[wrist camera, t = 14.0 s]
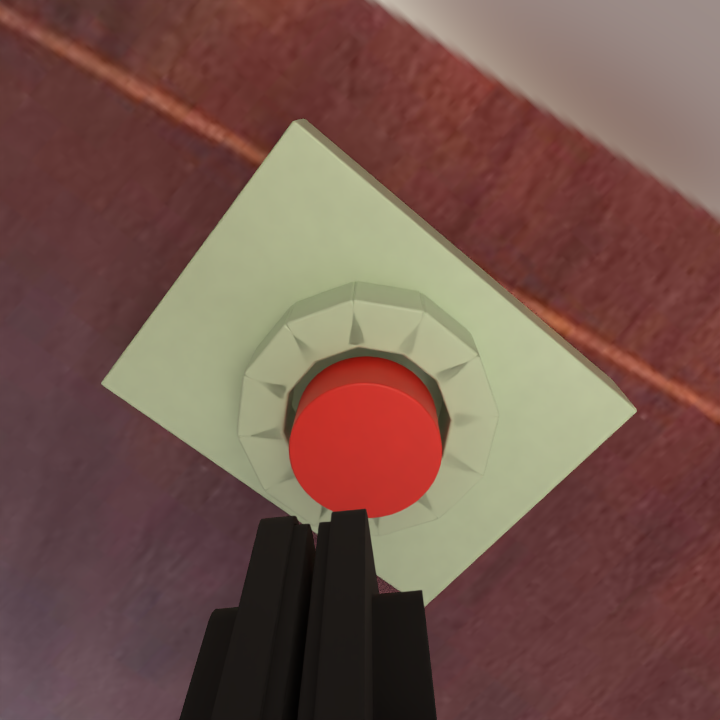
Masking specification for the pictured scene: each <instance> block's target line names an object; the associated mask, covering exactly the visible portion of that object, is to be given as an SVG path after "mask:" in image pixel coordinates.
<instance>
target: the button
mask: <svg viewBox="0 0 720 720" xmlns="http://www.w3.org/2000/svg"><path fill="white" fill-rule="evenodd" d="M289 459H290V463H291V467H292V470H293V473H294V475H295V477H296V479H297V481H298V482H299V484H300V485H301V487H302V488H303V489H304V491H305V492H306V493H307V494H308V495H309V496H310V497H311V498H312V499H314V500H315V501H316V502H317V503H319V504H320V505H322V506H323V507H325V508H327V509H329V510H331V511H333V512H336V511H346V510H356V509H366V510H367V515H368V518H377V517H383V516H388V515H392V514H394V513H397V512H400V511H402V510H404V509H406V508H408V507H409V506H411V505H412V504H414V503H415V502H416V501H418V500H419V499H420V498H421V497H422V496H423V495H424V494H425V493H426V492H427V491H428V489H429V488H430V487H431V485H432V484H433V482H434V480H435V478H436V476H437V474H438V472H439V468H440V465H441V460H442V442H441V435H440V430H439V424H438V418H437V413H436V408H435V404H434V401H433V398H432V396H431V394H430V392H429V390H428V389H427V387H426V386H425V384H424V383H423V382H422V381H421V379H420V378H419V377H418V376H416V375H415V374H414V373H413V372H412V371H410V370H409V369H407V368H406V367H404V366H402V365H400V364H398V363H396V362H394V361H391V360H388V359H384V358H379V357H371V356H362V357H353V358H348V359H345V360H341V361H339V362H336V363H334V364H332V365H330V366H328V367H327V368H325V369H323V370H322V371H321V372H320V373H318V374H317V375H316V376H315V377H314V378H313V379H312V380H311V381H310V383H309V384H308V385H307V387H306V388H305V390H304V392H303V394H302V396H301V399H300V402H299V405H298V408H297V412H296V416H295V419H294V423H293V427H292V430H291V435H290V439H289Z"/></svg>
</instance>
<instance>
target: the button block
mask: <svg viewBox="0 0 720 720" xmlns="http://www.w3.org/2000/svg"><path fill="white" fill-rule="evenodd" d="M362 356H371V357H379V358H384V359H388V360H391V361H394V362H396V363H398V364H400V365H402V366H404V367H406V368H407V369H409V370H410V371H412V372H413V373H414V374H415V375H416V376H418V377H419V378H420V379H421V381H422V382H423V383H424V384H425V386H426V387H427V389H428V390H429V392H430V394H431V396H432V398H433V401H434V404H435V408H436V413H437V418H438V424H439V430H440V435H441V442H442V460H441V465H440V468H439V472H438V474H437V476H436V478H435V480H434V482H433V484H432V485H431V487H430V488H429V489H428V491H427V492H426V493H425V494H424V495H423V496H422V497H421V498H420V499H419V500H418V501H416V502H415V503H414V504H412V505H411V506H409V507H408V508H406V509H404V510H402V511H400V512H397V513H394V514H392V515H388V516H383V517H377V518H368V521H369V528H370V535H371V542H372V549H373V556H374V563H375V570H376V575H377V576H379V577H380V578H382V579H383V580H385V581H386V582H387V583H389V584H390V585H392V586H393V587H395V588H396V589H398V590H399V591H400V592H405V591H416V590H422V592H423V600H424V607H425V606H426V605H427V604H428V603H429V602H430V601H432V600H433V599H434V598H435V597H436V596H437V595H438V594H439V593H440V592H441V591H442V590H444V589H445V588H446V587H447V586H448V585H449V584H450V583H451V582H452V581H453V580H454V579H455V578H457V577H458V576H459V575H460V574H461V573H462V572H463V571H464V570H465V569H466V568H467V567H468V566H470V565H471V564H472V563H473V562H474V561H475V560H476V559H477V558H478V557H479V556H480V555H482V554H483V553H484V552H485V551H486V550H487V549H488V548H489V547H490V546H491V545H492V544H493V543H495V542H496V541H497V540H498V539H499V538H500V537H501V536H502V535H503V534H504V533H505V532H507V531H508V530H509V529H510V528H511V527H512V526H513V525H514V524H515V523H516V522H517V521H518V520H520V519H521V518H522V517H523V516H524V515H525V514H526V513H527V512H528V511H529V510H530V509H531V508H533V507H534V506H535V505H536V504H537V503H538V502H539V501H540V500H541V499H542V498H543V497H545V496H546V495H547V494H548V493H549V492H550V491H551V490H552V489H553V488H554V487H555V486H556V485H558V484H559V483H560V482H561V481H562V480H563V479H564V478H565V477H566V476H567V475H568V474H570V473H571V472H572V471H573V470H574V469H575V468H576V467H577V466H578V465H579V464H580V463H581V462H583V461H584V460H585V459H586V458H587V457H588V456H589V455H590V454H591V453H592V452H593V451H594V450H596V449H597V448H598V447H599V446H600V445H601V444H602V443H603V442H604V441H605V440H606V439H608V438H609V437H610V436H611V435H612V434H613V433H614V432H615V431H616V430H617V429H618V428H619V427H621V426H622V425H623V424H624V423H625V422H626V421H627V420H628V419H629V418H630V417H631V416H633V415H634V414H635V413H636V411H637V409H636V408H635V407H634V405H633V404H632V403H631V402H630V401H629V399H628V398H627V397H626V396H625V395H624V393H623V392H622V391H621V390H620V389H619V387H618V386H617V385H616V384H615V383H614V381H613V380H612V379H611V378H609V377H608V376H607V375H606V374H605V373H604V372H602V371H601V370H600V369H599V368H598V367H597V366H595V365H594V364H593V363H592V362H591V361H589V360H588V359H587V358H586V357H585V356H584V355H582V354H581V353H580V352H579V351H578V350H577V349H575V348H574V347H573V346H572V345H571V344H569V343H568V342H567V341H566V340H565V339H564V338H562V337H561V336H560V335H559V334H558V333H557V332H555V331H554V330H553V329H552V328H551V327H549V326H548V325H547V324H546V323H545V322H544V321H542V320H541V319H540V318H539V317H538V316H537V315H535V314H534V313H533V312H532V311H531V310H529V309H528V308H527V307H526V306H525V305H524V304H522V303H521V302H520V301H519V300H518V299H516V298H515V297H514V296H513V295H512V294H511V293H509V292H508V291H507V290H506V289H505V288H504V287H502V286H501V285H500V284H499V283H498V282H496V281H495V280H494V279H493V278H492V277H491V276H489V275H488V274H487V273H486V272H485V271H484V270H482V269H481V268H480V267H479V266H478V265H476V264H475V263H474V262H473V261H472V260H471V259H469V258H468V257H467V256H466V255H465V254H464V253H462V252H461V251H460V250H459V249H458V248H456V247H455V246H454V245H453V244H452V243H451V242H449V241H448V240H447V239H446V238H445V237H443V236H442V235H441V234H440V233H439V232H438V231H436V230H435V229H434V228H433V227H432V226H431V225H429V224H428V223H427V222H426V221H425V220H423V219H422V218H421V217H420V216H419V215H418V214H416V213H415V212H414V211H413V210H412V209H411V208H409V207H408V206H407V205H406V204H405V203H403V202H402V201H401V200H400V199H399V198H398V197H396V196H395V195H394V194H393V193H392V192H391V191H389V190H388V189H387V188H386V187H385V186H383V185H382V184H381V183H380V182H379V181H378V180H376V179H375V178H374V177H373V176H372V175H371V174H369V173H368V172H367V171H366V170H365V169H363V168H362V167H361V166H360V165H359V164H358V163H356V162H355V161H354V160H353V159H352V158H350V157H349V156H348V155H347V154H346V153H345V152H343V151H342V150H341V149H340V148H339V147H338V146H336V145H335V144H334V143H333V142H332V141H330V140H329V139H328V138H327V137H326V136H325V135H323V134H322V133H321V132H320V131H319V130H318V129H316V128H315V127H314V126H313V125H312V124H310V123H309V122H308V121H307V120H306V119H300V120H295V121H293V122H292V123H291V124H290V126H289V127H288V128H287V130H286V131H285V133H284V134H283V135H282V137H281V138H280V139H279V141H278V142H277V143H276V145H275V146H274V148H273V149H272V150H271V152H270V153H269V154H268V156H267V157H266V158H265V160H264V161H263V163H262V164H261V165H260V167H259V168H258V169H257V171H256V172H255V173H254V175H253V176H252V178H251V179H250V180H249V182H248V183H247V184H246V186H245V187H244V188H243V190H242V191H241V193H240V194H239V195H238V197H237V198H236V199H235V201H234V202H233V203H232V205H231V206H230V208H229V209H228V210H227V212H226V213H225V214H224V216H223V217H222V218H221V220H220V221H219V223H218V224H217V225H216V227H215V228H214V229H213V231H212V232H211V233H210V235H209V236H208V238H207V239H206V240H205V242H204V243H203V244H202V246H201V247H200V248H199V250H198V251H197V253H196V254H195V255H194V257H193V258H192V259H191V261H190V262H189V263H188V265H187V266H186V268H185V269H184V270H183V272H182V273H181V274H180V276H179V277H178V278H177V280H176V281H175V283H174V284H173V285H172V287H171V288H170V289H169V291H168V292H167V293H166V295H165V296H164V298H163V299H162V300H161V302H160V303H159V304H158V306H157V307H156V308H155V310H154V311H153V313H152V314H151V315H150V317H149V318H148V319H147V321H146V322H145V323H144V325H143V326H142V328H141V329H140V330H139V332H138V333H137V334H136V336H135V337H134V338H133V340H132V341H131V343H130V344H129V345H128V347H127V348H126V349H125V351H124V352H123V353H122V355H121V356H120V358H119V359H118V360H117V362H116V363H115V364H114V366H113V367H112V368H111V370H110V371H109V373H108V374H107V375H106V377H105V378H104V379H103V381H102V385H103V386H104V387H106V388H107V389H109V390H110V391H112V392H113V393H115V394H116V395H117V396H119V397H120V398H122V399H123V400H125V401H126V402H128V403H129V404H130V405H132V406H133V407H135V408H136V409H138V410H139V411H141V412H142V413H143V414H145V415H146V416H148V417H149V418H151V419H152V420H154V421H155V422H156V423H158V424H159V425H161V426H162V427H164V428H165V429H167V430H168V431H169V432H171V433H172V434H174V435H175V436H177V437H178V438H180V439H181V440H182V441H184V442H185V443H187V444H188V445H190V446H191V447H193V448H194V449H195V450H197V451H198V452H200V453H201V454H203V455H204V456H206V457H207V458H208V459H210V460H211V461H213V462H214V463H216V464H217V465H219V466H220V467H221V468H223V469H224V470H226V471H227V472H229V473H230V474H232V475H233V476H234V477H236V478H237V479H239V480H240V481H242V482H243V483H245V484H246V485H247V486H249V487H250V488H252V489H253V490H255V491H256V492H258V493H259V494H260V495H262V496H263V497H265V498H266V499H268V500H269V501H270V502H272V503H273V504H275V505H276V506H278V507H279V508H281V509H282V510H283V511H285V512H286V513H288V514H289V515H291V516H296V517H297V519H298V521H299V522H301V523H302V524H310V526H311V529H312V531H314V532H315V533H317V534H318V527H319V523H320V522H329V521H331V513H332V512H333V511H331V510H329V509H327V508H325V507H323V506H322V505H320V504H319V503H317V502H316V501H315V500H314V499H312V498H311V497H310V496H309V495H308V494H307V493H306V492H305V491H304V489H303V488H302V487H301V485H300V484H299V482H298V481H297V479H296V477H295V475H294V473H293V470H292V467H291V463H290V459H289V439H290V435H291V430H292V427H293V423H294V419H295V416H296V412H297V408H298V405H299V402H300V399H301V396H302V394H303V392H304V390H305V388H306V387H307V385H308V384H309V383H310V381H311V380H312V379H313V378H314V377H315V376H316V375H317V374H318V373H320V372H321V371H322V370H323V369H325V368H327V367H328V366H330V365H332V364H334V363H336V362H339V361H341V360H345V359H348V358H353V357H362Z"/></svg>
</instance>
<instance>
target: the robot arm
mask: <svg viewBox="0 0 720 720" xmlns="http://www.w3.org/2000/svg"><path fill="white" fill-rule="evenodd" d="M179 720H437V717H436V708H435V699H434V689H433V680H432V671H431V662H430V654H429V645H428V636H427V627H426V618H425V609H424V600H423V592H422V590H416V591H405V592H395V593H384V594H379V591H378V584H377V577H376V570H375V563H374V556H373V549H372V542H371V535H370V528H369V521H368V515H367V510H366V509H356V510H346V511H336V512H332V513H331V521H329V522H320V523H319V527H318V536H317V545H316V551H315V545H314V540H313V534H312V529H311V526H310V524H299V522H298V519H297V517H296V516H286V517H276V518H266V519H261V520H260V523H259V526H258V530H257V534H256V538H255V542H254V546H253V550H252V554H251V558H250V563H249V567H248V571H247V575H246V579H245V583H244V587H243V591H242V595H241V599H240V603H239V607H233V608H222V609H215V610H214V611H213V612H212V614H211V616H210V619H209V621H208V625H207V628H206V632H205V635H204V638H203V642H202V645H201V648H200V652H199V655H198V658H197V662H196V665H195V669H194V672H193V675H192V679H191V682H190V685H189V689H188V692H187V695H186V699H185V702H184V706H183V709H182V712H181V716H180V719H179Z"/></svg>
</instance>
